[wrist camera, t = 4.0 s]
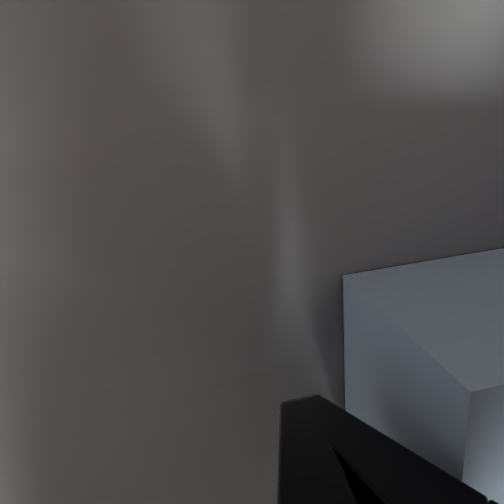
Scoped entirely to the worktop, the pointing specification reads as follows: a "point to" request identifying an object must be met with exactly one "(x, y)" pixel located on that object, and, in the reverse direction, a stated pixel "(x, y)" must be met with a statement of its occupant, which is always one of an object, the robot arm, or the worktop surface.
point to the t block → (432, 361)
